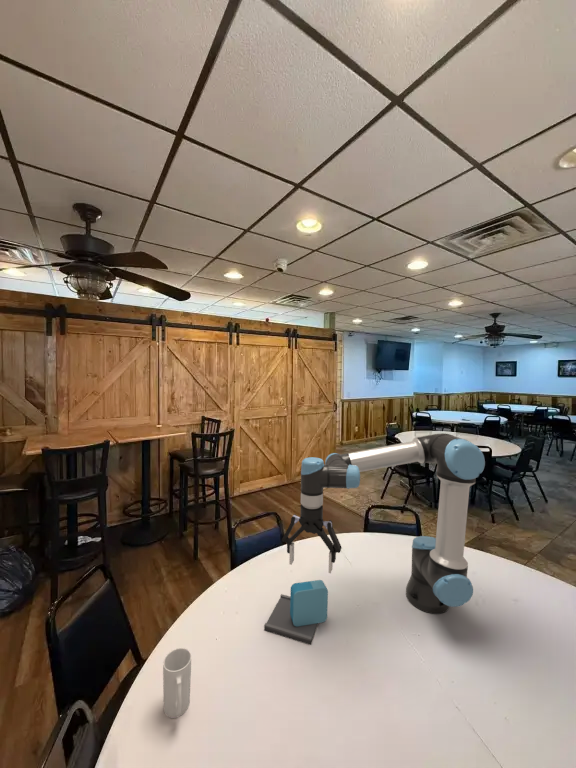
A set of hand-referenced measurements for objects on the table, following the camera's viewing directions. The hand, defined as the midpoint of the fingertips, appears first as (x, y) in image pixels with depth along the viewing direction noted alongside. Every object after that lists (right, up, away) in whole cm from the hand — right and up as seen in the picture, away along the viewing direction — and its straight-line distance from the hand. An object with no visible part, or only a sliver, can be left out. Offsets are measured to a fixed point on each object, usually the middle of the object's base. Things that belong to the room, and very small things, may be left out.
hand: (310, 566), depth 108 cm
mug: (-35, -20, -29) cm, 50 cm away
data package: (-1, -19, +1) cm, 19 cm away
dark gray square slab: (-5, -20, +2) cm, 20 cm away
